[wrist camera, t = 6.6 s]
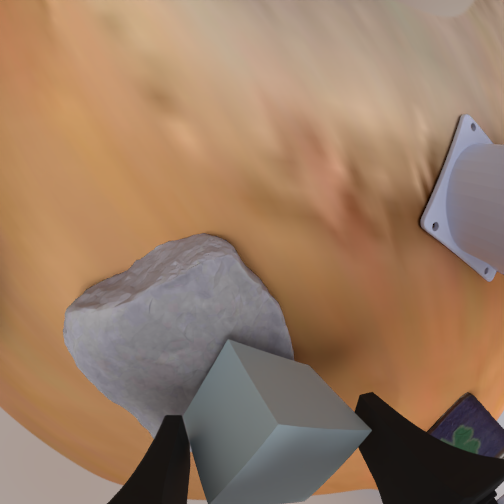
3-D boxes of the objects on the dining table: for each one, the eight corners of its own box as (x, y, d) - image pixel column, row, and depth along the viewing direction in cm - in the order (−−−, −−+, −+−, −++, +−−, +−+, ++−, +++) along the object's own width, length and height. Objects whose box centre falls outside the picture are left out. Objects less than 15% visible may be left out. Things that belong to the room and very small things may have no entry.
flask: (417, 451, 23) (455, 515, 13) (404, 451, 22) (444, 521, 12) (473, 392, 21) (526, 453, 11) (464, 389, 21) (522, 455, 10)
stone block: (217, 206, 15) (63, 296, 14) (242, 217, 11) (35, 338, 9) (296, 362, 19) (174, 427, 18) (330, 403, 15) (184, 478, 13)
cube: (309, 365, 13) (371, 430, 9) (262, 431, 13) (304, 501, 9) (228, 338, 11) (278, 424, 7) (183, 416, 12) (208, 504, 7)
